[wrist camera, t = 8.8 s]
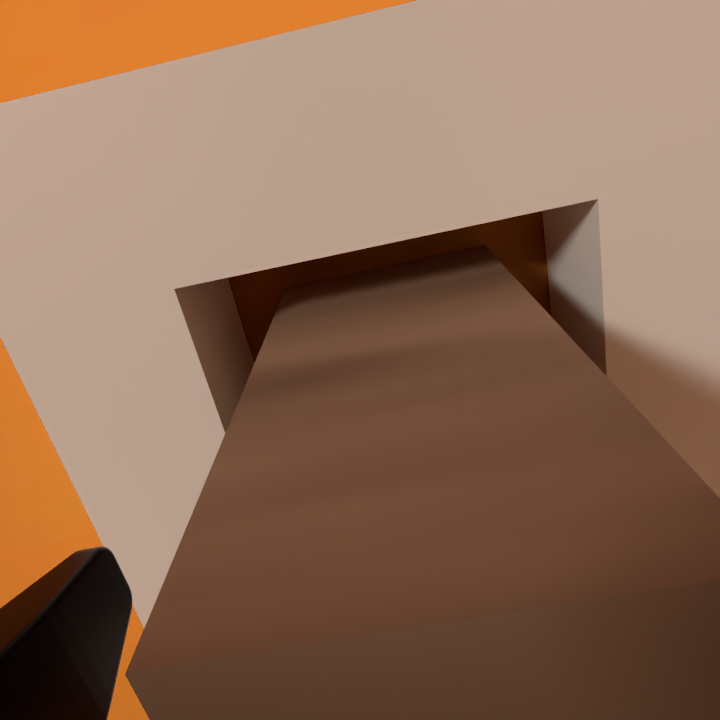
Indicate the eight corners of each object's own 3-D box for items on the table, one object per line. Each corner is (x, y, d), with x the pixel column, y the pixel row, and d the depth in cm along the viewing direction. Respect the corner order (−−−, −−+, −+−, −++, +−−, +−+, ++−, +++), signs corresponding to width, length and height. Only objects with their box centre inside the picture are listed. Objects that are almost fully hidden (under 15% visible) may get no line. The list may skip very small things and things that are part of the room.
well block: (691, 533, 15) (768, 632, 12) (218, 610, 16) (188, 717, 13) (701, -43, 10) (836, -104, 7) (15, 124, 11) (-103, 128, 8)
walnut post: (508, 421, 13) (750, 927, 5) (332, 454, 14) (291, 977, 5) (484, 245, 12) (785, 568, 3) (285, 288, 12) (125, 674, 4)
